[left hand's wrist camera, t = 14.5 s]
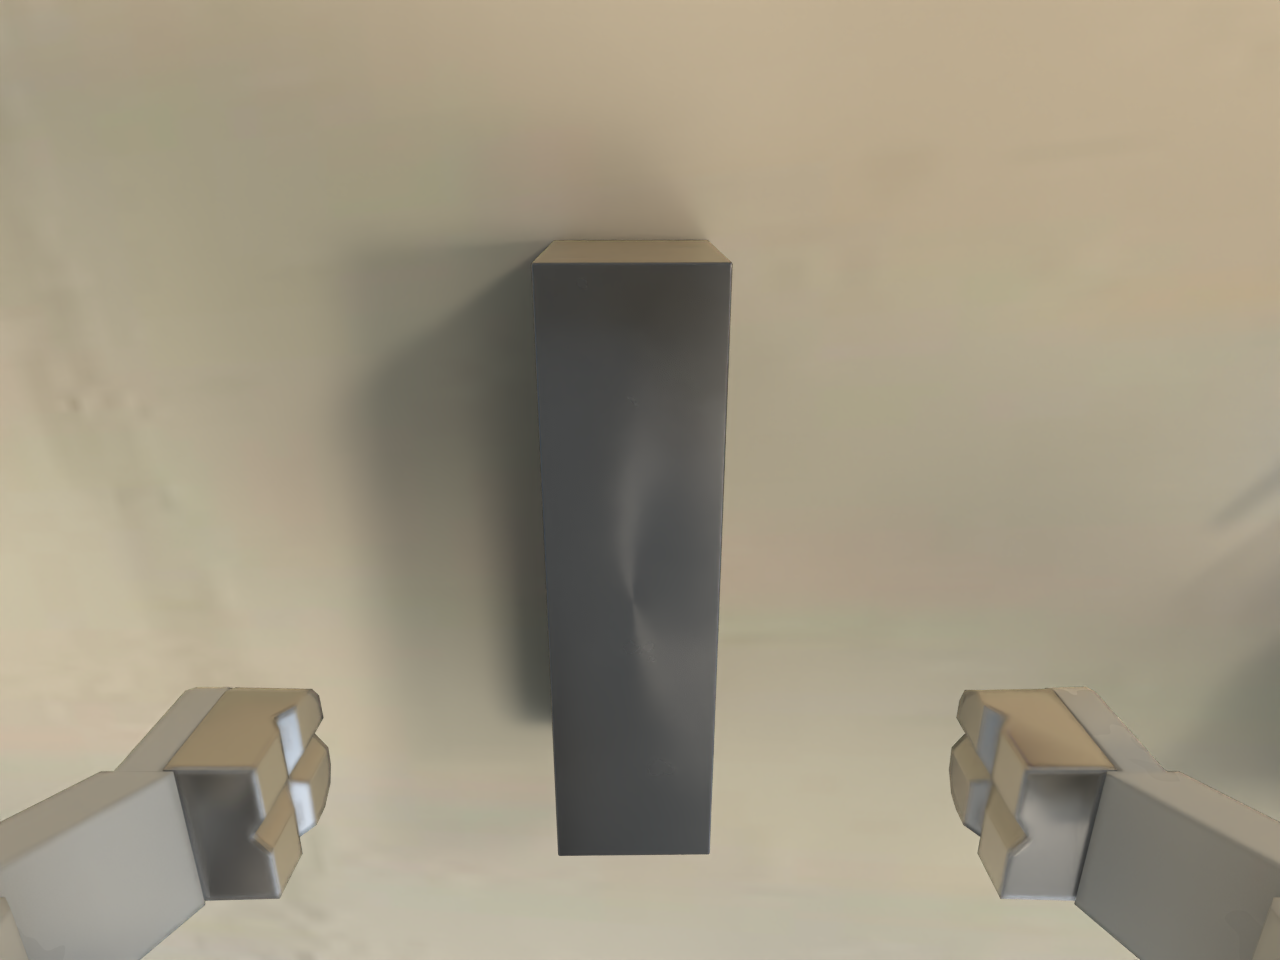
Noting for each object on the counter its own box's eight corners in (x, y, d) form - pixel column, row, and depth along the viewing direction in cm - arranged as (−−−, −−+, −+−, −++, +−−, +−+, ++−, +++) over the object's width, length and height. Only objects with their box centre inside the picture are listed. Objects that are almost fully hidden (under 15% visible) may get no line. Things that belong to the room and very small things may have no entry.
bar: (553, 240, 31) (530, 262, 24) (708, 240, 31) (732, 262, 24) (571, 728, 39) (557, 856, 32) (694, 727, 39) (709, 854, 32)
